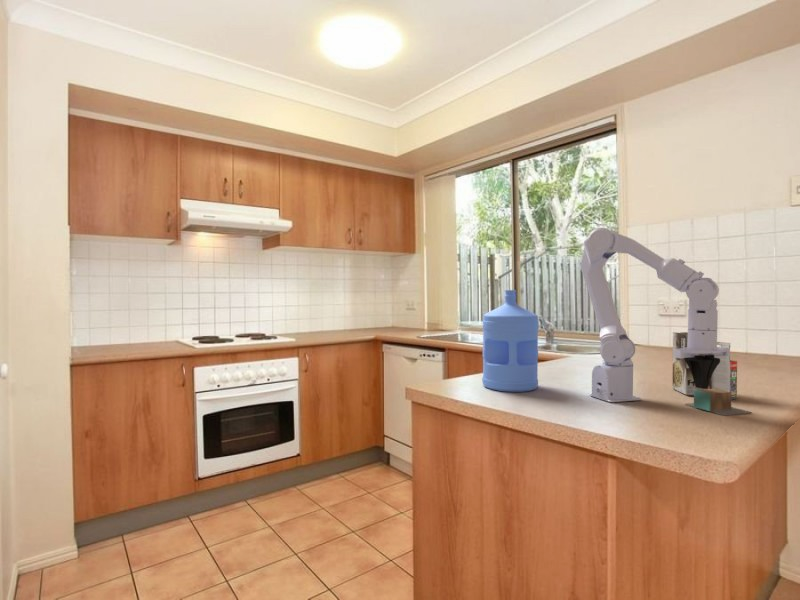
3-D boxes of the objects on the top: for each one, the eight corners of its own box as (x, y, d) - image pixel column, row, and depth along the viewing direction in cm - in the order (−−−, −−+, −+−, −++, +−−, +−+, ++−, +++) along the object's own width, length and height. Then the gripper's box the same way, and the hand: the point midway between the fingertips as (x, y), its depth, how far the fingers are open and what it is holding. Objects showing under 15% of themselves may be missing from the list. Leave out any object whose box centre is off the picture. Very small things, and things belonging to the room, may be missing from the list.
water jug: (480, 380, 139) (481, 290, 139) (532, 381, 138) (533, 290, 137) (484, 392, 124) (484, 290, 123) (543, 393, 122) (543, 290, 121)
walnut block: (709, 393, 103) (731, 392, 105) (694, 389, 107) (715, 388, 109) (709, 411, 103) (731, 409, 105) (693, 406, 107) (715, 405, 109)
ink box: (705, 392, 123) (705, 339, 123) (737, 398, 116) (738, 342, 116) (697, 394, 122) (698, 340, 121) (729, 400, 115) (730, 343, 114)
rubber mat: (724, 415, 100) (724, 414, 100) (684, 404, 110) (684, 403, 110) (751, 413, 103) (751, 411, 103) (710, 402, 112) (710, 401, 112)
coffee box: (712, 396, 118) (713, 334, 118) (685, 395, 119) (686, 334, 119) (696, 389, 127) (697, 331, 127) (671, 388, 128) (672, 331, 128)
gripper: (692, 331, 99) (692, 393, 99) (743, 330, 103) (742, 389, 103) (666, 329, 106) (665, 386, 106) (714, 327, 110) (713, 383, 110)
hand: (701, 387), depth 105 cm, fingers closed
